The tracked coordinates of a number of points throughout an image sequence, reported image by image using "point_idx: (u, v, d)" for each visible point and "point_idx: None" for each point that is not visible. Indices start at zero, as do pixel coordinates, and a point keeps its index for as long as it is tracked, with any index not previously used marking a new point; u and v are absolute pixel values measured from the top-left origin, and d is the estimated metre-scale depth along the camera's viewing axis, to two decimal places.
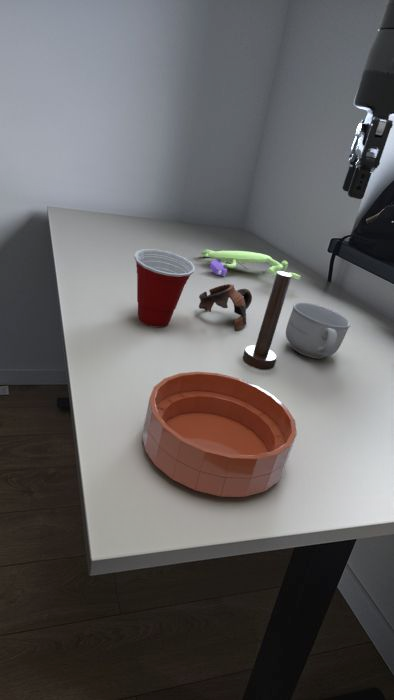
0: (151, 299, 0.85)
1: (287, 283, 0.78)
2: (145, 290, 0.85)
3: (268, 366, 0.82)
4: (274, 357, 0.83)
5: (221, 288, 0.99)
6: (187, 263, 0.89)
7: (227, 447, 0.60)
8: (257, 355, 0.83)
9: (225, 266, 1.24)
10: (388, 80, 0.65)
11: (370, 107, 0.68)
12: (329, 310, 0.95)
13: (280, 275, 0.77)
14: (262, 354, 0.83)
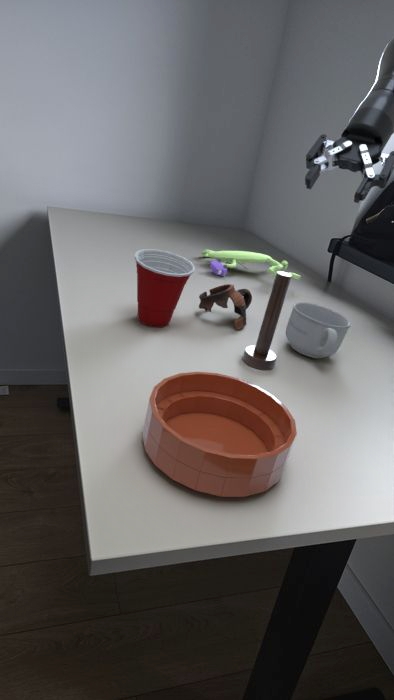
0: (151, 299, 0.85)
1: (287, 283, 0.78)
2: (145, 290, 0.85)
3: (268, 366, 0.82)
4: (274, 357, 0.83)
5: (221, 288, 0.99)
6: (187, 263, 0.89)
7: (227, 447, 0.60)
8: (257, 355, 0.83)
9: (225, 266, 1.24)
10: None
11: None
12: (329, 310, 0.95)
13: (280, 275, 0.77)
14: (262, 354, 0.83)
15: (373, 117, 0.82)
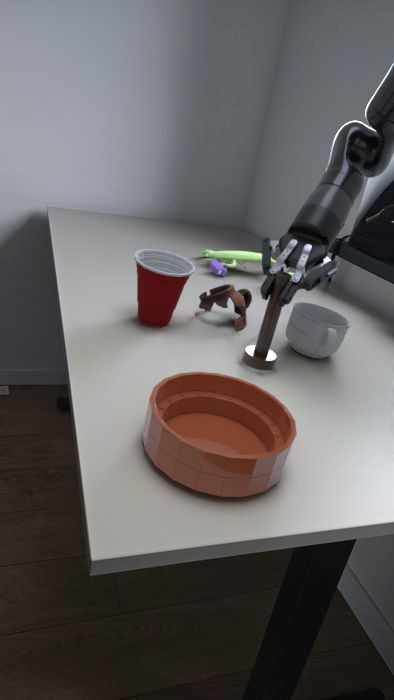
0: (151, 299, 0.85)
1: None
2: (145, 290, 0.85)
3: (268, 366, 0.82)
4: (274, 357, 0.83)
5: (221, 288, 0.99)
6: (187, 263, 0.89)
7: (227, 447, 0.60)
8: (257, 355, 0.83)
9: (225, 266, 1.24)
10: None
11: None
12: (329, 310, 0.95)
13: (280, 275, 0.77)
14: (262, 354, 0.83)
15: (318, 216, 0.78)
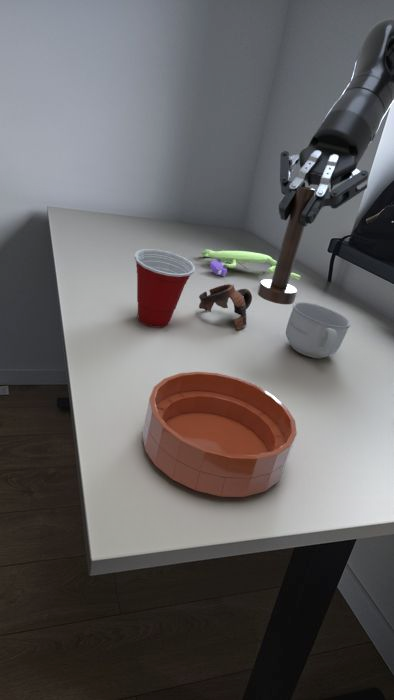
0: (151, 299, 0.85)
1: (310, 198, 0.67)
2: (145, 290, 0.85)
3: (287, 300, 0.71)
4: (294, 290, 0.72)
5: (221, 288, 0.99)
6: (187, 263, 0.89)
7: (227, 447, 0.60)
8: (274, 287, 0.72)
9: (225, 266, 1.24)
10: None
11: None
12: (329, 310, 0.95)
13: (302, 188, 0.66)
14: (280, 286, 0.72)
15: (346, 122, 0.68)
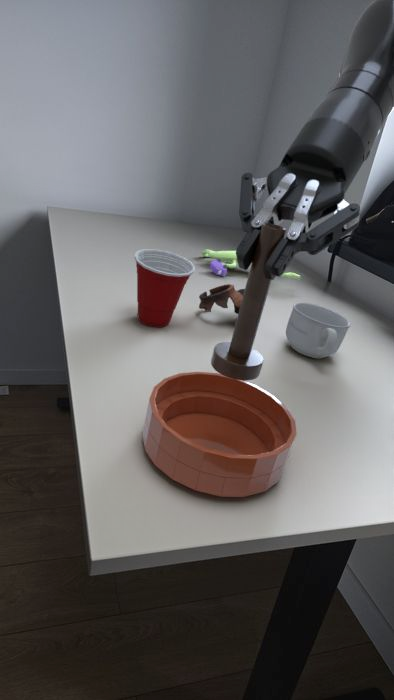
0: (151, 299, 0.85)
1: (279, 241, 0.48)
2: (145, 290, 0.85)
3: (249, 375, 0.53)
4: (259, 360, 0.54)
5: (221, 288, 0.99)
6: (187, 263, 0.89)
7: (227, 447, 0.60)
8: (233, 357, 0.53)
9: (225, 266, 1.24)
10: None
11: None
12: (329, 310, 0.95)
13: (267, 228, 0.47)
14: (240, 356, 0.53)
15: (330, 135, 0.49)
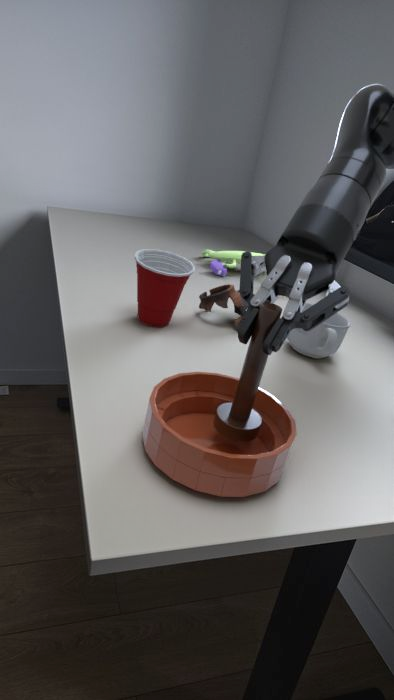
0: (151, 299, 0.85)
1: None
2: (145, 290, 0.85)
3: (249, 437, 0.57)
4: (258, 422, 0.58)
5: (221, 288, 0.99)
6: (187, 263, 0.89)
7: (227, 447, 0.60)
8: (234, 420, 0.58)
9: (225, 266, 1.24)
10: None
11: None
12: None
13: (265, 309, 0.52)
14: (241, 419, 0.58)
15: (322, 222, 0.53)
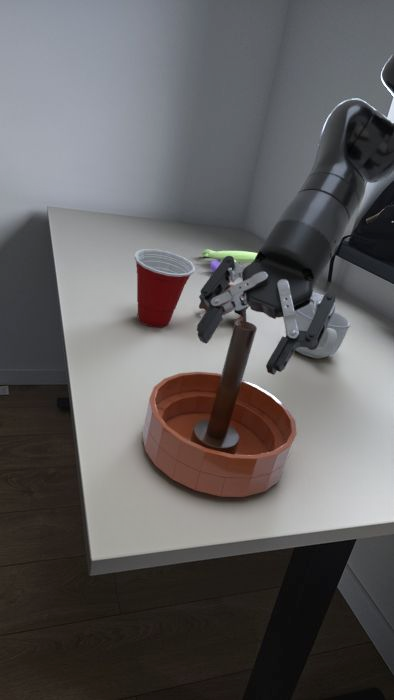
0: (151, 299, 0.85)
1: (250, 340, 0.52)
2: (145, 290, 0.85)
3: None
4: (235, 440, 0.58)
5: None
6: (187, 263, 0.89)
7: None
8: (210, 438, 0.57)
9: None
10: None
11: None
12: None
13: (239, 328, 0.52)
14: (217, 437, 0.58)
15: (299, 238, 0.53)
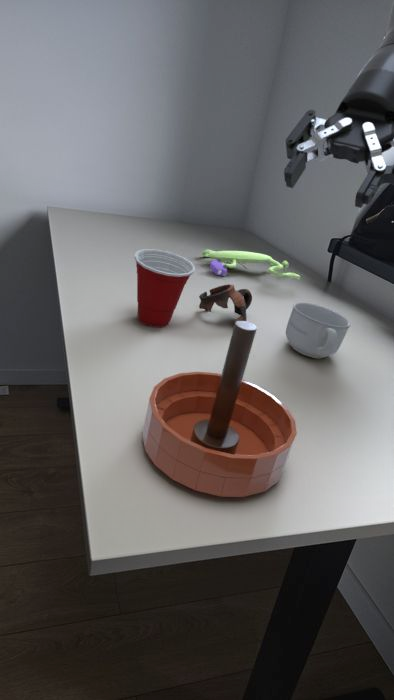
0: (151, 299, 0.85)
1: (250, 340, 0.52)
2: (145, 290, 0.85)
3: None
4: (235, 440, 0.58)
5: (221, 288, 0.99)
6: (187, 263, 0.89)
7: None
8: (210, 438, 0.57)
9: (225, 266, 1.24)
10: None
11: None
12: (329, 310, 0.95)
13: (239, 328, 0.52)
14: (217, 437, 0.58)
15: (383, 83, 0.56)
